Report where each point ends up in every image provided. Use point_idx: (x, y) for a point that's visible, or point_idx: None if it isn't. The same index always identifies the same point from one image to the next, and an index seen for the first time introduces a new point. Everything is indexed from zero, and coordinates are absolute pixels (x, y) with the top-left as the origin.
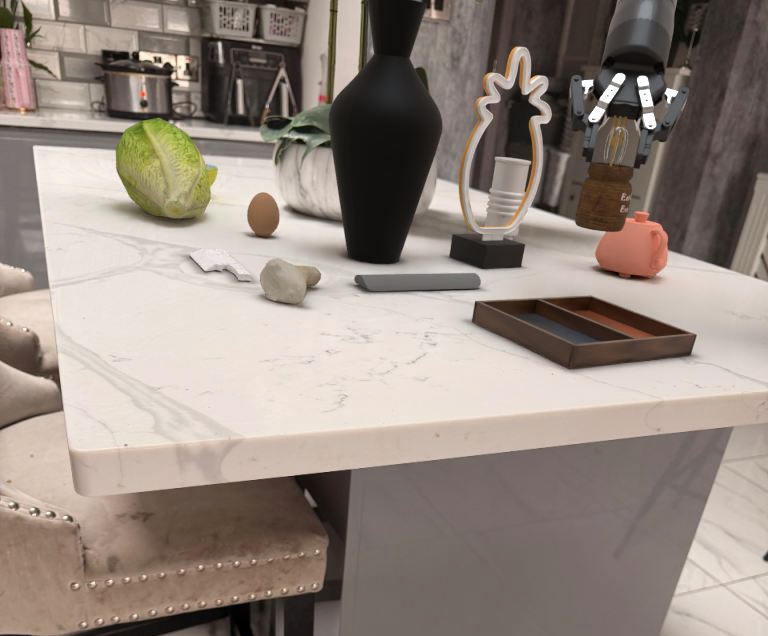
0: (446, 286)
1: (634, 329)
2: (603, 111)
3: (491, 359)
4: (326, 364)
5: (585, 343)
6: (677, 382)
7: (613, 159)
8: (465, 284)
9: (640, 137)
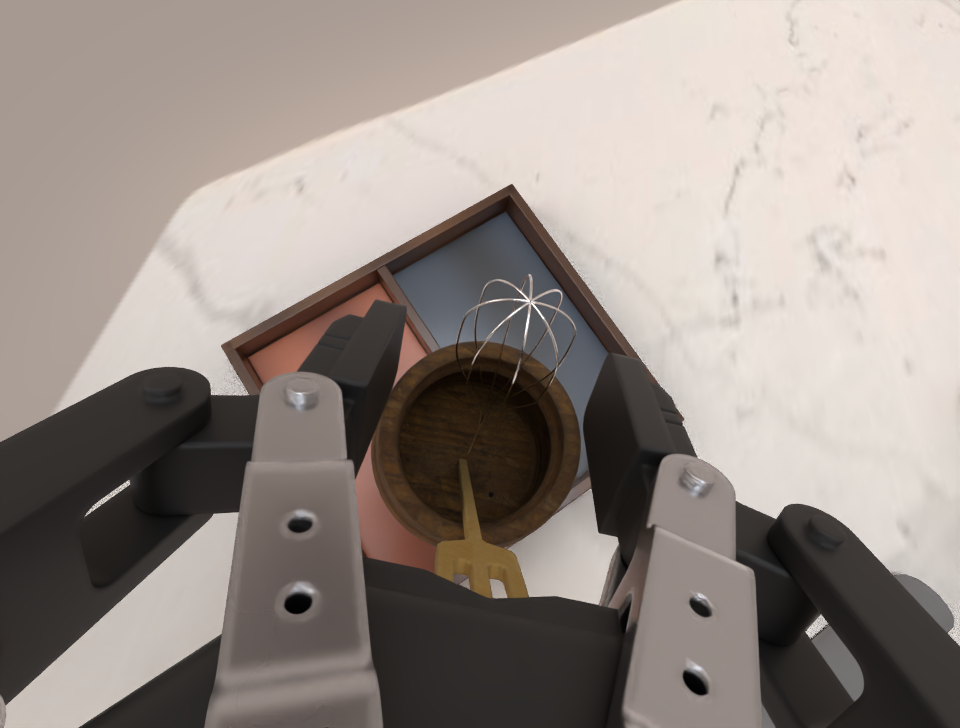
0: None
1: None
2: (657, 516)
3: (627, 216)
4: (839, 131)
5: (491, 201)
6: (331, 195)
7: (506, 333)
8: None
9: (381, 355)
